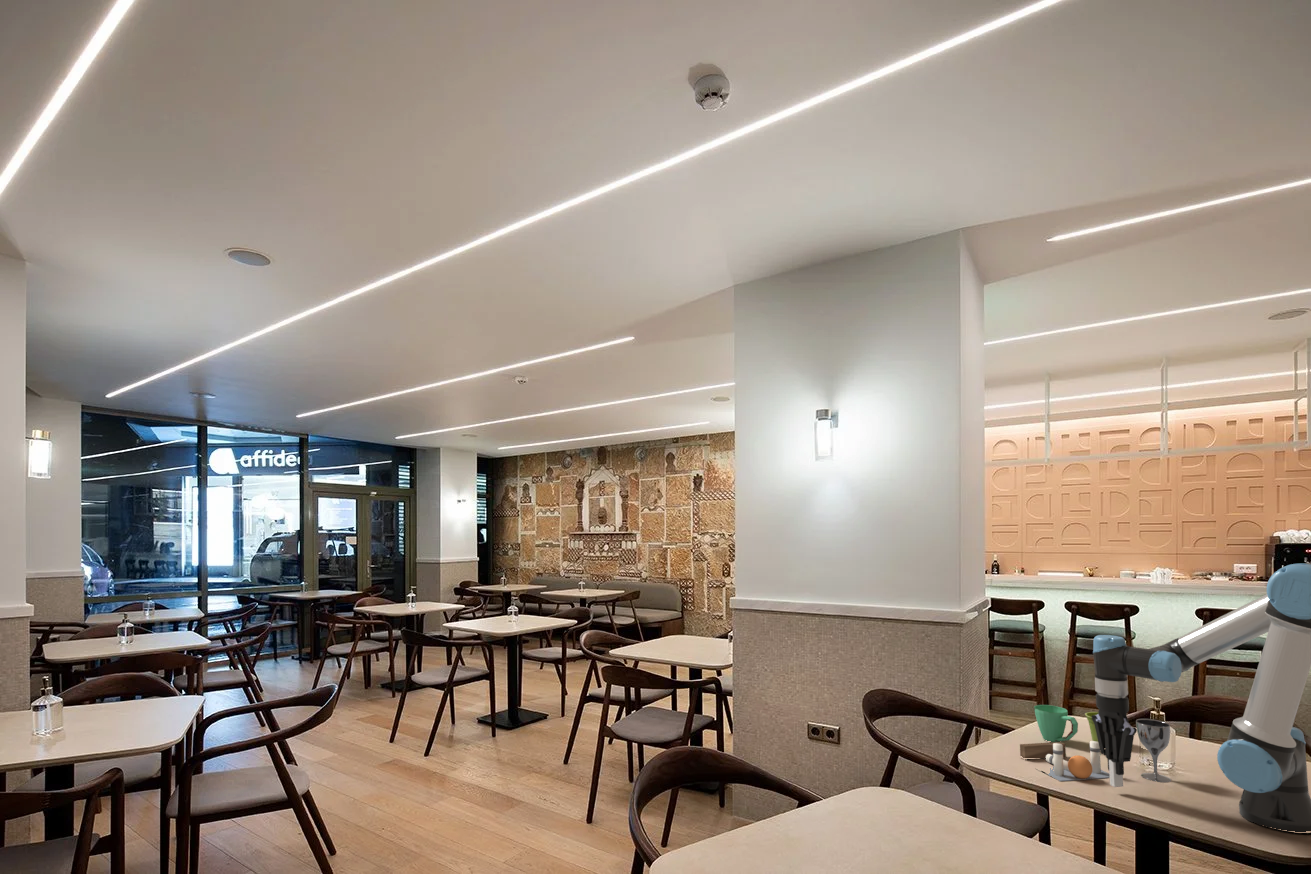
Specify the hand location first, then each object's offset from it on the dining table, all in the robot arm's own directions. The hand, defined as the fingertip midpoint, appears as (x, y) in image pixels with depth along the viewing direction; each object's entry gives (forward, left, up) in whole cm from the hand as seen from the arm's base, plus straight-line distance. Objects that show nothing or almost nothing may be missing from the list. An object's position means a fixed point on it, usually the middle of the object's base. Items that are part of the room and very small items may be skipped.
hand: (1116, 785), depth 194 cm
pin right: (+14, -6, -2) cm, 15 cm away
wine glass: (+8, -20, -2) cm, 22 cm away
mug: (+40, -15, -2) cm, 43 cm away
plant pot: (+37, -29, -2) cm, 47 cm away
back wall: (+28, 0, -2) cm, 28 cm away
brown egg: (+11, +1, +1) cm, 11 cm away
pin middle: (+16, 0, -1) cm, 16 cm away
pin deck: (+15, 0, -2) cm, 15 cm away
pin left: (+14, +6, -2) cm, 15 cm away
